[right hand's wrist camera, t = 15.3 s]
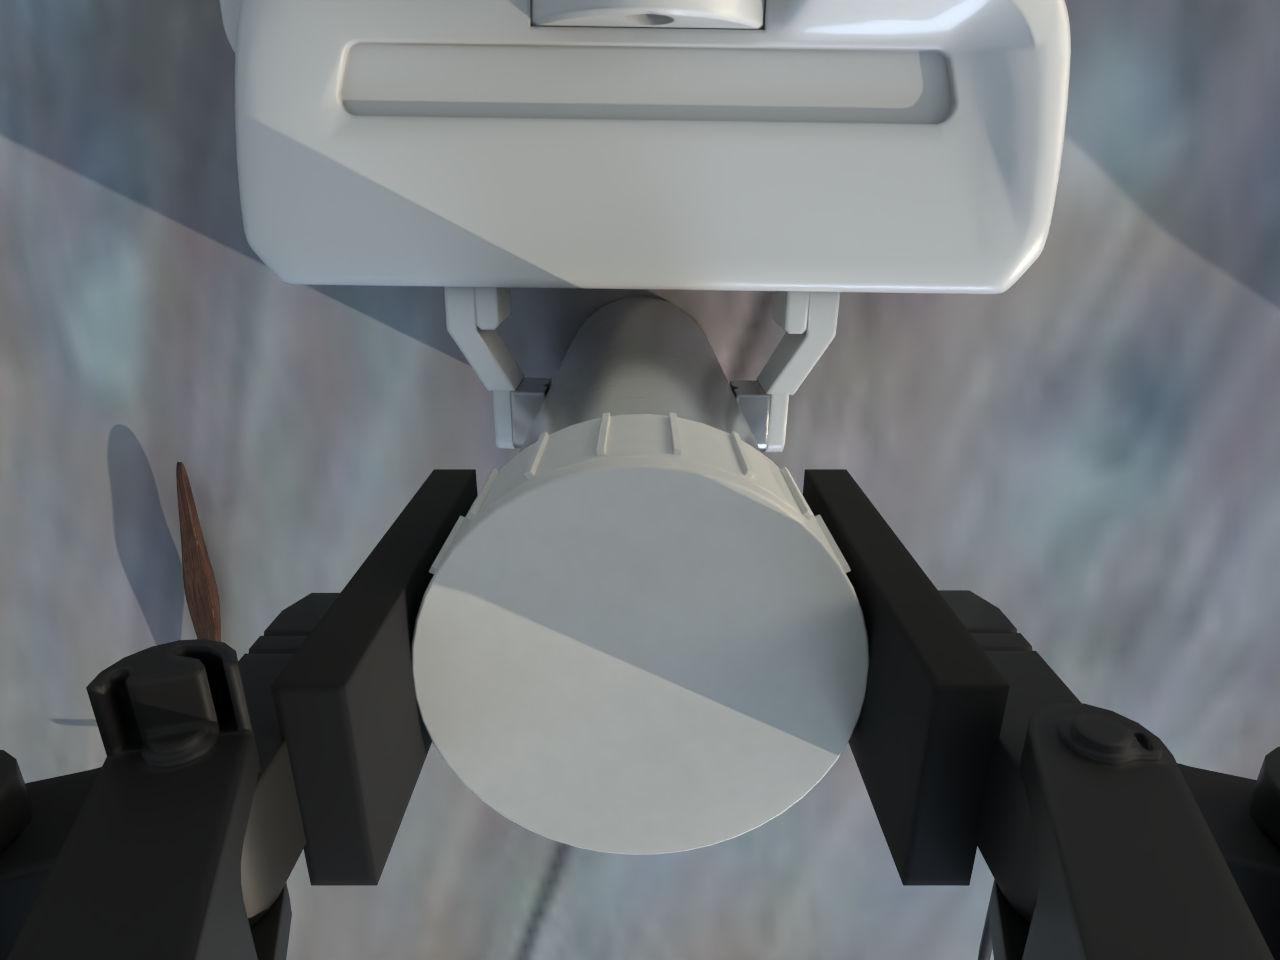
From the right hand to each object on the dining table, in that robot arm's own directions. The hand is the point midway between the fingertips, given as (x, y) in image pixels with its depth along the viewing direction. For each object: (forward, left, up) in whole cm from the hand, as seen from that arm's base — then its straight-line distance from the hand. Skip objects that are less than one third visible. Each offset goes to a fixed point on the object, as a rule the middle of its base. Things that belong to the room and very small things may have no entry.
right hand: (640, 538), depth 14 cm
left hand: (0, -1, -8) cm, 9 cm away
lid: (0, 0, +4) cm, 4 cm away
